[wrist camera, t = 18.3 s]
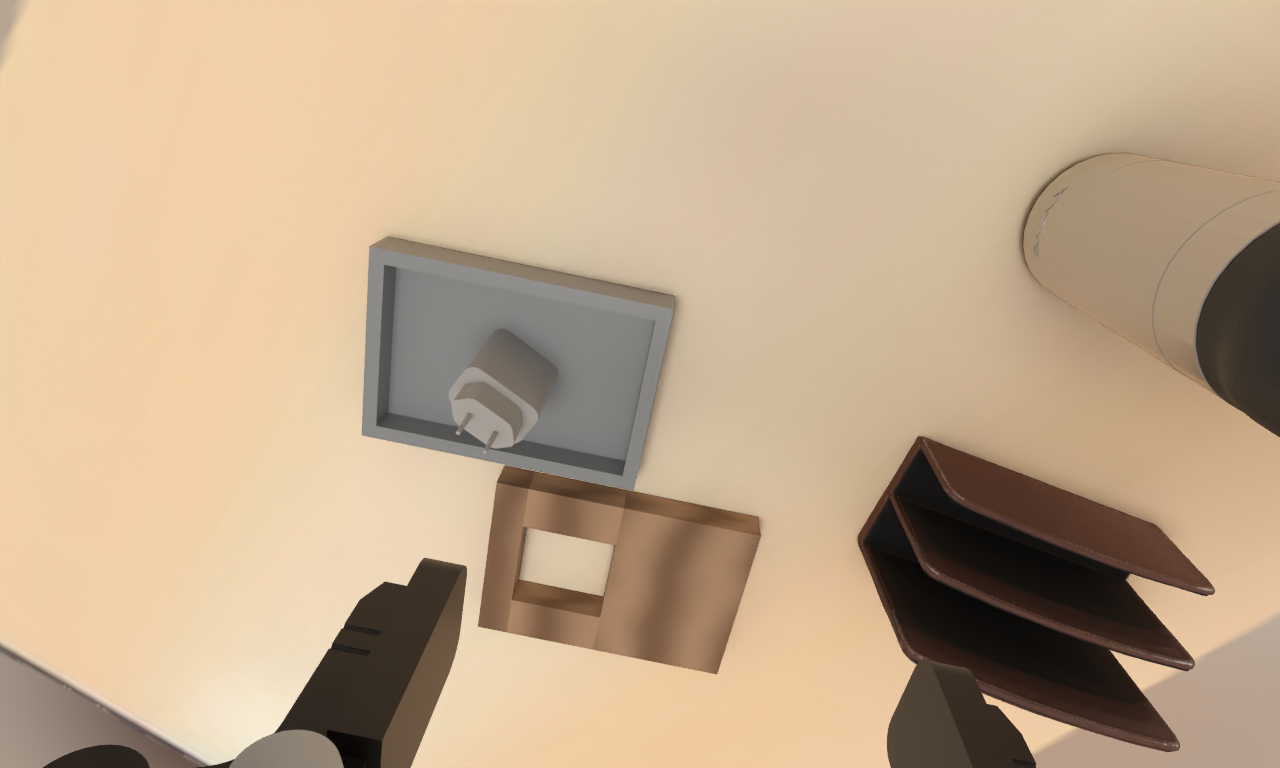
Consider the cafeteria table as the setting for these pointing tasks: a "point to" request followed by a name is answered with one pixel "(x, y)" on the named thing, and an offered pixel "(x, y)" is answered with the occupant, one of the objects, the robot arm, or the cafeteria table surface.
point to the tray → (543, 319)
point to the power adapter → (502, 391)
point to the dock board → (621, 570)
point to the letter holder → (1026, 590)
